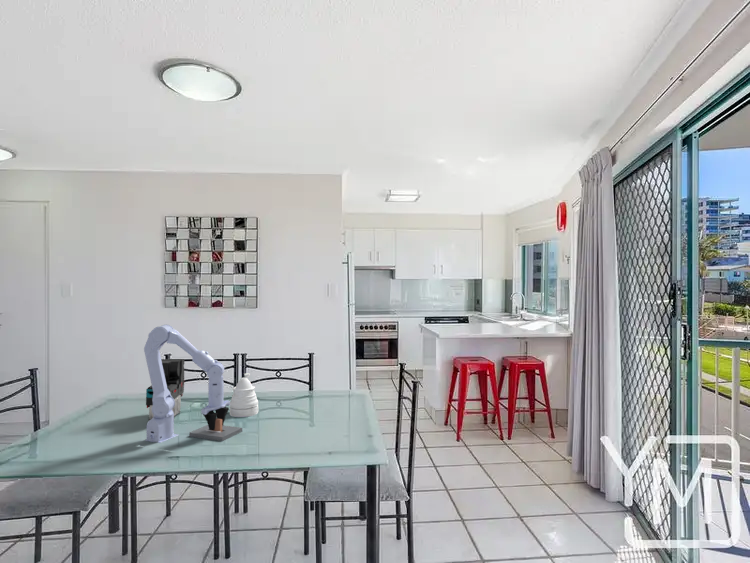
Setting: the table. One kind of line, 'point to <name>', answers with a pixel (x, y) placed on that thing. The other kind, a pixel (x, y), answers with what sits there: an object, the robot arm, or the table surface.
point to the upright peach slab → (218, 425)
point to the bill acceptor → (170, 384)
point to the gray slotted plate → (215, 433)
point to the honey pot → (244, 399)
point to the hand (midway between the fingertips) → (216, 427)
